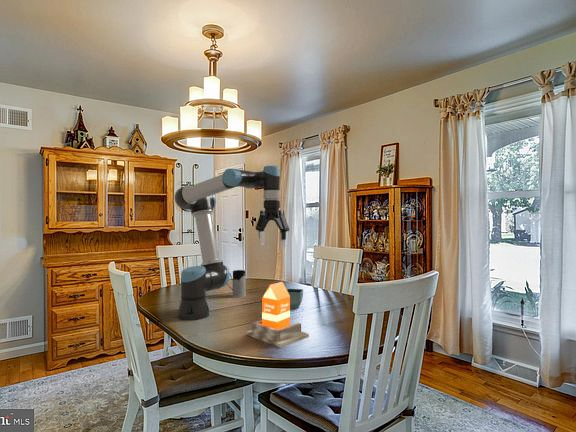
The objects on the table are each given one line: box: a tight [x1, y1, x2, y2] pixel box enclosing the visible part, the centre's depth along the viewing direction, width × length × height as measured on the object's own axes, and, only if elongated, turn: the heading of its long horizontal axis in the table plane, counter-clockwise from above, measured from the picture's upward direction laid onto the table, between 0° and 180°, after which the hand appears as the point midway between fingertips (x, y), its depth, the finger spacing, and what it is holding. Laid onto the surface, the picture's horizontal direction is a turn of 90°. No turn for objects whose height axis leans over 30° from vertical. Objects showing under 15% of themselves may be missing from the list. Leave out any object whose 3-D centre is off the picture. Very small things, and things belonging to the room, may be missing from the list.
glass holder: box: [226, 269, 247, 298], centre depth 213 cm, size 9×14×15 cm, turn 68°
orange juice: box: [261, 281, 291, 330], centre depth 142 cm, size 8×9×20 cm
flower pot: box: [286, 288, 304, 310], centre depth 185 cm, size 9×9×9 cm
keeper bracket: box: [245, 319, 310, 349], centre depth 142 cm, size 20×16×5 cm
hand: (271, 246), depth 160 cm, fingers open, 13 cm apart
